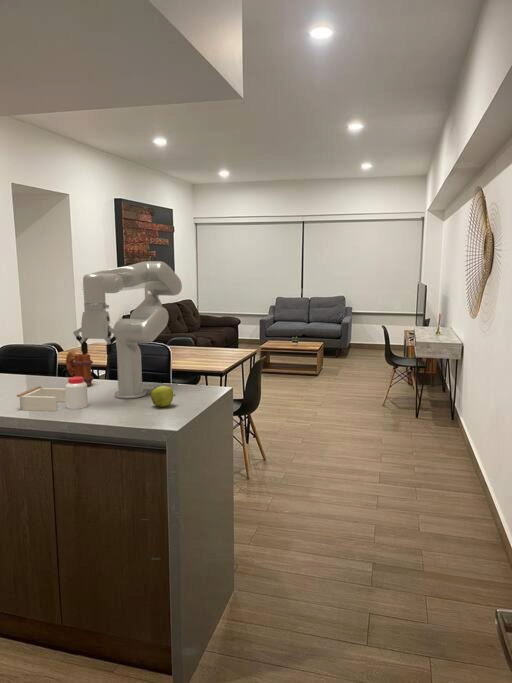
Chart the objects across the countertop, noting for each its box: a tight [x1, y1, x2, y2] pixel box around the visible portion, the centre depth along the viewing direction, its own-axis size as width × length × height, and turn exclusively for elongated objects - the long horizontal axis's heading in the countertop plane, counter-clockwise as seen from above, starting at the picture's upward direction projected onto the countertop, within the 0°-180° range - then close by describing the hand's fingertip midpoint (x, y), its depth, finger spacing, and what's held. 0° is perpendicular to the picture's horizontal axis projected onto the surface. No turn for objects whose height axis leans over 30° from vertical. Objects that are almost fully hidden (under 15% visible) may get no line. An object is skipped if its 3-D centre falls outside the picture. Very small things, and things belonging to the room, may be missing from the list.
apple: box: [150, 385, 176, 408], centre depth 191 cm, size 8×9×8 cm
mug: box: [65, 350, 95, 387], centre depth 227 cm, size 15×8×15 cm, turn 58°
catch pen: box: [16, 385, 66, 412], centre depth 193 cm, size 14×14×6 cm
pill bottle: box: [64, 376, 89, 410], centre depth 191 cm, size 8×8×11 cm
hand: (97, 354), depth 189 cm, fingers open, 9 cm apart
